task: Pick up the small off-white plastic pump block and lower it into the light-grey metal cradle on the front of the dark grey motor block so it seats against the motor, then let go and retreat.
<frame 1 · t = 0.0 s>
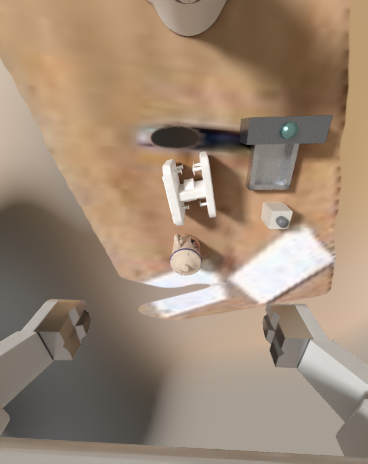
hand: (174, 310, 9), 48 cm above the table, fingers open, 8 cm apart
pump: (271, 210, 57), on the table
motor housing: (269, 154, 50), on the table
teacup with lid: (185, 242, 63), on the table
cable organizer: (190, 182, 55), on the table
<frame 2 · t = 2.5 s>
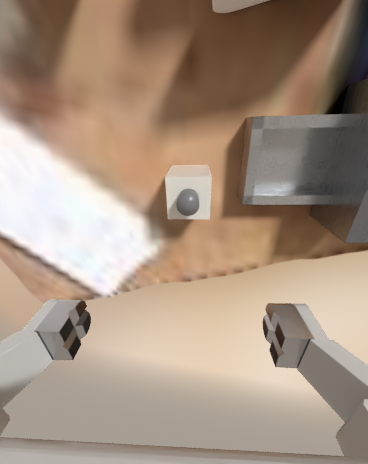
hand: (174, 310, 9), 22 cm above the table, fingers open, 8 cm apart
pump: (189, 183, 29), on the table
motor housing: (302, 159, 26), on the table
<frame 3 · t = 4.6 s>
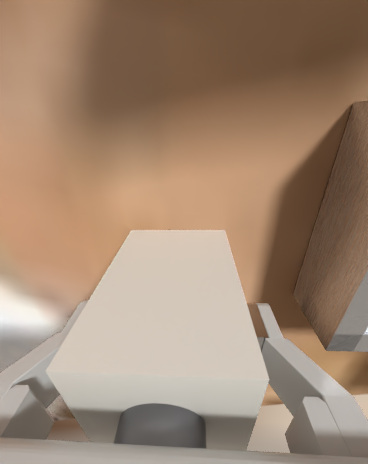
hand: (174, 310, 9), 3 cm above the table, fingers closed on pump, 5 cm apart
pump: (179, 267, 12), on the table, touching gripper
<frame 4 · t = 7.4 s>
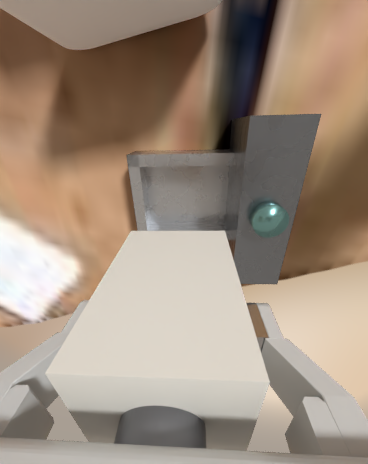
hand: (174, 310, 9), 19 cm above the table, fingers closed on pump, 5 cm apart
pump: (179, 268, 12), point 16 cm above the table, touching gripper
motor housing: (202, 192, 25), on the table
when the fingers open (6 cm above the table, at t = 10.1 s): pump drops 1 cm, resting on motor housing.
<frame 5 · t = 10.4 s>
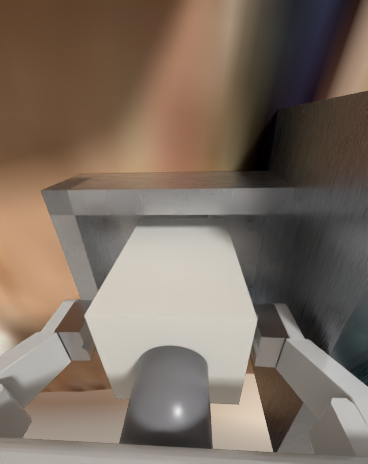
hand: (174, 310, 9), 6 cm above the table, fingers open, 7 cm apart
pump: (183, 252, 13), point 1 cm above the table, touching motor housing
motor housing: (211, 245, 14), on the table
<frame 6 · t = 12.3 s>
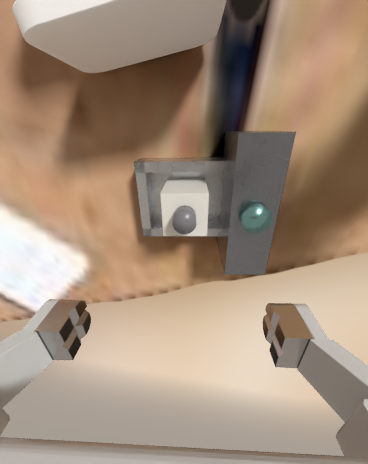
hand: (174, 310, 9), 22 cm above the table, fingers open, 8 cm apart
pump: (186, 196, 28), point 1 cm above the table, touching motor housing
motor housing: (199, 194, 29), on the table
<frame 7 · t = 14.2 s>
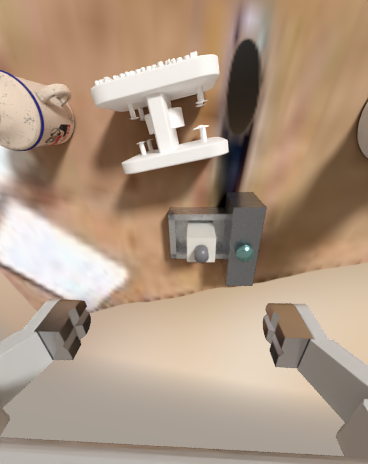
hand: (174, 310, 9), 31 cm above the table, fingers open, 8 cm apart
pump: (200, 231, 41), point 1 cm above the table, touching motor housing
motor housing: (209, 229, 42), on the table
teacup with lid: (56, 112, 33), on the table
cable organizer: (170, 122, 33), on the table
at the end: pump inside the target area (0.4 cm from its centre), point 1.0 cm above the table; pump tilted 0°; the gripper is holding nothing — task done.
